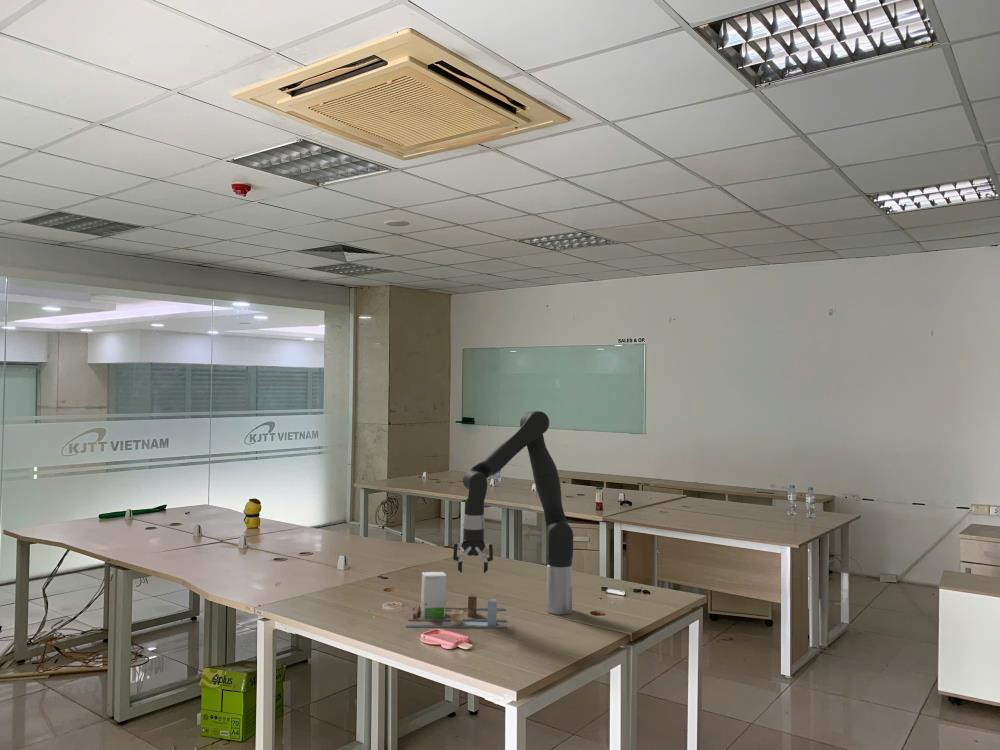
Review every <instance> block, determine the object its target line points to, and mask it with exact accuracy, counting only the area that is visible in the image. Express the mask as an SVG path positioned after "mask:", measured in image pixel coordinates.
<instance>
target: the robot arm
mask: <svg viewBox="0 0 1000 750" xmlns="http://www.w3.org/2000/svg"><path fill="white" fill-rule="evenodd" d="M519 425H520V426H519V427H520V428H519V429H518V430H516V432H515V433H514V434H513V435H512V436H510V437H509V438H508V439H505V441H503V442H502V443H500V444H499V445H497V446H496V447H495V448H494V449H493V450H492V451H491V452H489V454H488V455H487V456H485V458H483V459H482V460H481V461H479V462H478V463H477V464H475V465H474V466H472V467H471V468H470V469H469V470H467V471H466V473H465V474H464V475H463V478H462V484H463V485H464V487H465V488H466V489H468V496H467V498H465V500H464V515H463V516H464V517H463V524H462V526H463V530H462V534H463V536H462V542H460V543H459V542H457V541H456V542H454V545H453V553H452V554H453V556H452V557H453V558H452V559H453V561H457V570H458V572H459V573H462V574H463V560H464V558H466V556H467V555H468V556H475V557H478V556H480V557H481V559H482V560H483V573H484V574H486V573H487V571H488V567H489V562H492V561H493V559H494V552H493V551H494V550H493V543H492V542H490V543H485V500H486V495H487V492H488V491H487V490H488V480H487V479H488V478H490V477H491V476H494V475H497V474H498V473H499V472H500V471H502V469H503V468H504V467H505V466H506V465H508V463H509V462H511V460H512V459H514V457H515V456H516V455H517V454H518V453H520V452H521V451H522V450H523V449H524V448H525V447H527V453H528V456H529V461H530V466H531V470H532V476H533V480H534V484H535V488H536V491H537V495H538V498H539V500H540V504H541V506H542V509H543V514H544V520H545V521H544V522H545V529H546V531H545V532H546V536H547V539H548V542H547V543H548V545H547V548H548V549H547V556H546V610H545V611H546V612H547V613H549V614H550V615H551V614H552V615H569V614H573V586H572V584H573V583H572V580H573V579H572V575H573V572H572V571H573V568H572V567H573V557H574V532H573V529H572V526H570V525H569V522H568V521H567V516H566V514H565V512H564V507H563V501H562V500H563V499H562V489H561V482H560V477H559V473H558V469H557V466H556V463H555V462H554V459H553V458H552V456H551V454H550V452H549V450H548V448H547V446H546V443H545V437H544V434H545V433H546V432H547V430H548V429H549V427H550V419H549V416H548V415H547V414H546V413H545V412H543V411H539V410H533V411H527V412H526V413H524V414H522V416H521V418H520V421H519ZM460 548H462V549H463V552H462V553H461V554H460V556H458V550H460ZM485 548H486V549H487V551H489V556H488V557H487V555H486V554H485V552H484V549H485Z"/></svg>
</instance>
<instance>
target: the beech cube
mask: <svg viewBox="0 0 1000 750" xmlns="http://www.w3.org/2000/svg"><path fill="white" fill-rule="evenodd" d="M450 618H451V625H463V622H464V621H463V618H464V611H463V610H452V611H450Z"/></svg>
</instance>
